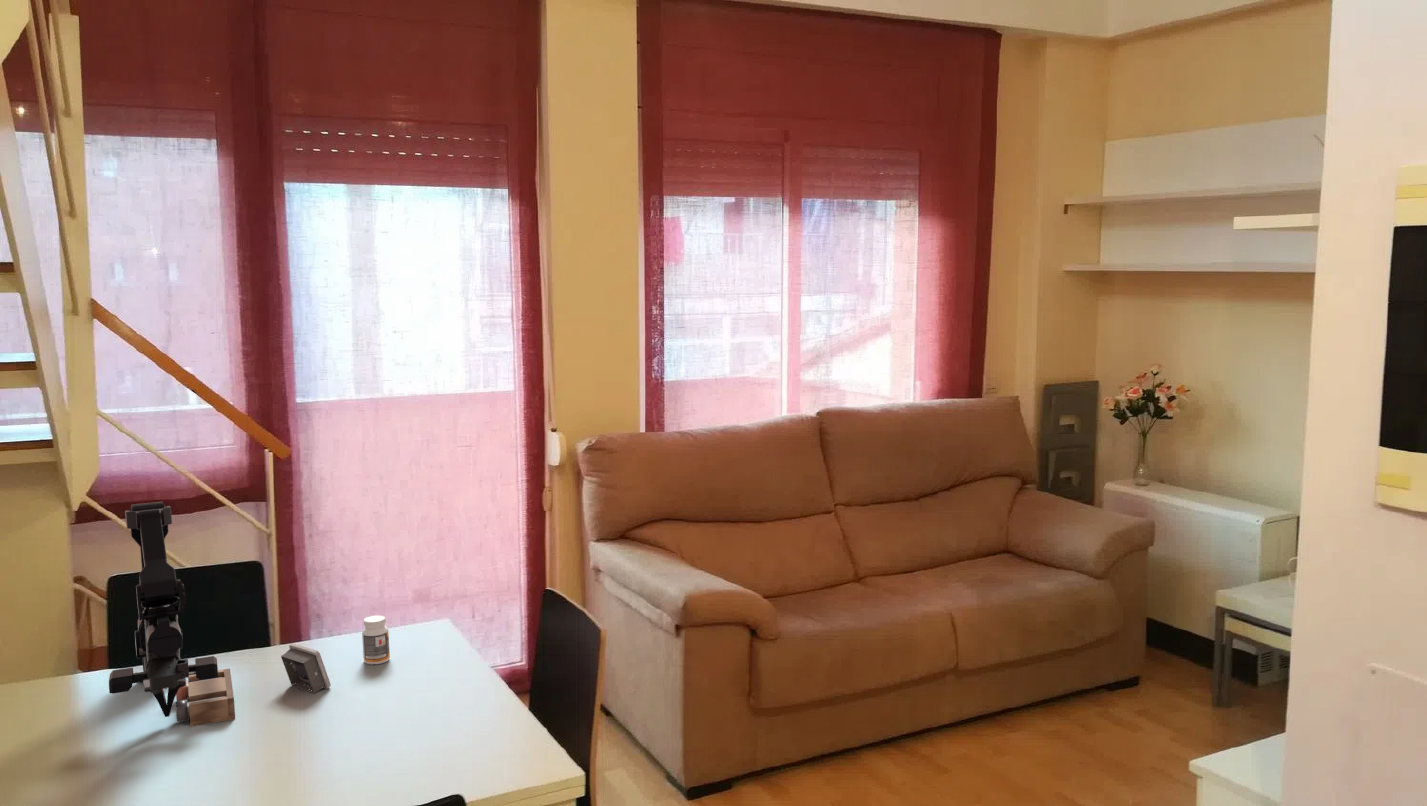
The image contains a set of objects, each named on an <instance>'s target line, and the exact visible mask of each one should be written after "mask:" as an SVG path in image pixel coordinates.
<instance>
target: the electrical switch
mask: <svg viewBox="0 0 1427 806" xmlns="http://www.w3.org/2000/svg"><path fill="white" fill-rule="evenodd" d="M288 648H289V649H288V650H287V651H286V652H285V653H283V654H282V655H280V658H281V660H282V663H283V665H284V669H285V672H286V674H287V677H288V680H289V683H290V686H292V687H295V688H297V689H300V690H303V691H306V692H310V693H312V694H315V693H317V692H318V691H320V690H322V689H326V690H328V689H329V688H330V687H331V685H332V683H331V682H330V678H329V675H328V673H327V670H326V667H325V665H324V662H323V661H324V660H323V658H322V655H321V653H320V652H319V651H318V650H316V649H314V648H310V647H307V646H303V645H300V644H297V643H291V644H290V645H288Z"/></svg>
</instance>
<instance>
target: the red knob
mask: <svg viewBox="0 0 1427 806" xmlns="http://www.w3.org/2000/svg"><path fill="white" fill-rule="evenodd" d="M219 678H222V677H219ZM214 679H216V678H214ZM207 680H210V679H207ZM200 681H204V680H200ZM194 682H198V681H194ZM188 683H192V682H188V681H186V685H185V686H184V687H180V688H179V690H178V692H177V694H176V696H175V699H176V701H180V700H186V699H187V701H189V690H188Z"/></svg>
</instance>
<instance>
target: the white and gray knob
mask: <svg viewBox="0 0 1427 806" xmlns="http://www.w3.org/2000/svg"><path fill="white" fill-rule="evenodd" d="M222 697H225V696H222ZM216 698H221V697H216ZM210 699H215V698H210ZM204 700H209V699H204ZM198 701H203V700H198ZM192 702H197V701H192ZM189 703H191V702H189V701H188V700H187V699H186V700H180V701H177V700H175V716H176V722H177V723H179V722H180V723H181V722H184V721H189V718H190V712H189Z"/></svg>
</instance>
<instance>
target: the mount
mask: <svg viewBox="0 0 1427 806" xmlns="http://www.w3.org/2000/svg"><path fill="white" fill-rule="evenodd" d="M219 677H222V678H219ZM187 678H188V679H187V680H188V681H187V683H188V682H192V683H188V690H189V697H188V702H191V703H189V712H190V717H189V722H190V723H189V724H190V725H189V726H190V727H197V725H198V726H202V725H203V726H204V725H208V724H209V725H210V724H213V723H220V722H225V721H231V720H235V719H236V710H235V697H234V695H235V694H234V689H233V680H232V675H231V669H230V668H229V667H228V668H224V669H218V677H217V678H216V679H210V680H204V681H200V680H199V679H198V678H196V674H194V675H189V677H187ZM194 681H198V682H194ZM222 696H225V697H222ZM216 697H221V698H216ZM210 698H215V699H210ZM204 699H209V700H204ZM198 700H203V701H198ZM192 701H197V702H192Z"/></svg>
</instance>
